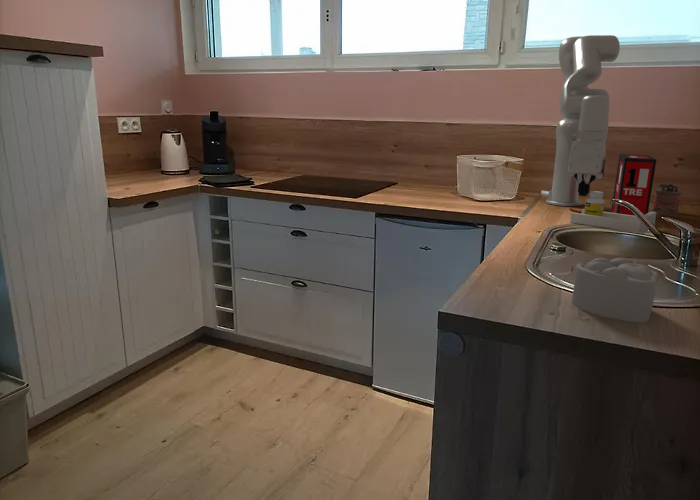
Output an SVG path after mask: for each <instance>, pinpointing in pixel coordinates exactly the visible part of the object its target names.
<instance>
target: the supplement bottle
mask: <svg viewBox="0 0 700 500" xmlns="http://www.w3.org/2000/svg"><path fill="white" fill-rule="evenodd" d="M588 195H589V196H588V198H586V199H585V206H584V209H585V212H584V214H588V215H595V216H602V217H603V212H604V210H605V200H604V199H603V197H604V192H603V191H597V190H589V193H588Z"/></svg>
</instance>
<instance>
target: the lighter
mask: <svg viewBox="0 0 700 500" xmlns="http://www.w3.org/2000/svg"><path fill="white" fill-rule="evenodd" d="M658 188H662V189H655V195H654V203H653V207H652V212H657V213H658V212H659V213H664V214H665V213H666V214H674V215H675V214H679V208H680V200H681V195H683V193H682V191H679V188H680V186H679V185H675V184H673V183H669V184H667V183H658Z"/></svg>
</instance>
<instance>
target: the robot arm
mask: <svg viewBox="0 0 700 500" xmlns="http://www.w3.org/2000/svg"><path fill="white" fill-rule="evenodd" d="M620 45H621V44H620V41H619V38H618V37H617V36H616V35H614V34H613V35H611V34H609V35H608V34H607V35H605V34H604V35H601V34H600V35H596V34H595V35H584V36H581V35H580V36H570V37H567V38H564V39H563V40H562V41H561V42H560V44H559V49H558V61H559V66H560V71H561V74H562V86H561V90H560V95H559V96H560V97H559V110H560V115H561V116H562V117H563V118H562V119H560V120H559V121H558V122H557V125H556V129H555V140H556V142H555V143H556V144H555V146H556V147H555V148H556V149H555V157H554V158H555V159H554V167H553V168H554V169H553V177H552V186H551V190H549V191H548V190H541V192H540V195H541V196H543V197H547V198H546V200H545V202H546V203H547V204H550V205H553V206H554V205H555V206H561V207H579V206H582V202H583V201H582V200H579V196H580V197H586V196H588V195H589V193H590V187H591V184H592V183H593V182H594V181H595V180H598V179H603V178H604V177H605V176H604V175H605V174H604V172H605V170H606V169H605V168H606V162H607V161H606V160H607V158H606V157H607V155H606V154H607V148H606V147H607V146H606V141H607V138H608V133H609V120H610V119H609V118H610V117H609V116H610V114H609V113H610V95H609V92H608V91H607V90H605V89H603V88H589V85H592V84H594V83H595V82H596V81H597V80H599V79H600V78H601V76H602V73H603V72H602V63H613V62H615V61H616V60H617V59H618V57H619V54H620V51H621V50H620V48H621V47H620ZM585 175H586V177H585Z"/></svg>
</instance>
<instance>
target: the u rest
mask: <svg viewBox="0 0 700 500" xmlns="http://www.w3.org/2000/svg"><path fill="white" fill-rule="evenodd" d="M584 212H585V208H582V209H581V213H579V212H571V215H570V221H569V222H570V223H573V224H579V225H585V226H592V227H598V228H605V229H611V230H618V231H624V232H625V231H626V232H631V233H638V234H646V233H648V232H649V231H648V229H647V228H646V226H645V225H644V224H643V223H642V222H641V221H640V220H639V219H638V218H637V217H636V216H633V215H625V214H618V213H612V212H611V211H609V212H608V211H603V217H602V216H595V215H588V214H584ZM657 213H658V212H655V211H648V213H647V214H645V215H644V216H645V217H646V218H647V219H648V220H650V221H651V222H652V223H653V224H654V226H656V225H655V223H656V218H657Z"/></svg>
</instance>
